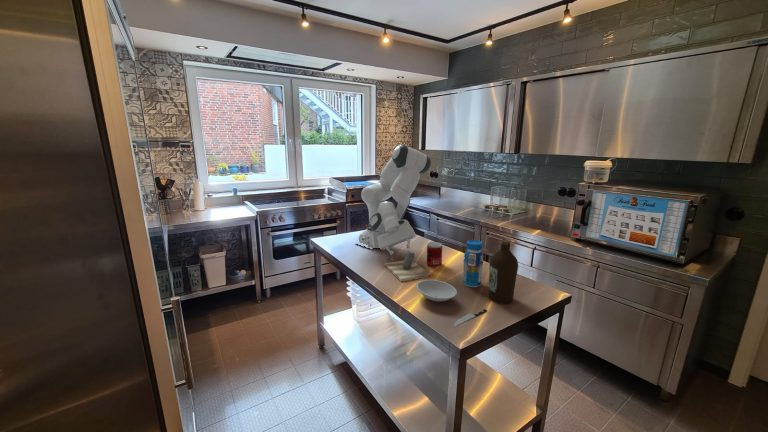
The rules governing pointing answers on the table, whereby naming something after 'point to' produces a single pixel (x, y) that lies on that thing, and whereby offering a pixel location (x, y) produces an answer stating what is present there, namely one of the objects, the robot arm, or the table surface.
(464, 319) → the chef's knife
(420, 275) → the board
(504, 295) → the olive oil
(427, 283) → the dish
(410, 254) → the dark grey cylinder
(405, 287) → the table surface
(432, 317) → the table surface
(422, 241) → the table surface
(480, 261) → the beverage bottle
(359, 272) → the table surface
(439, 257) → the canned food
